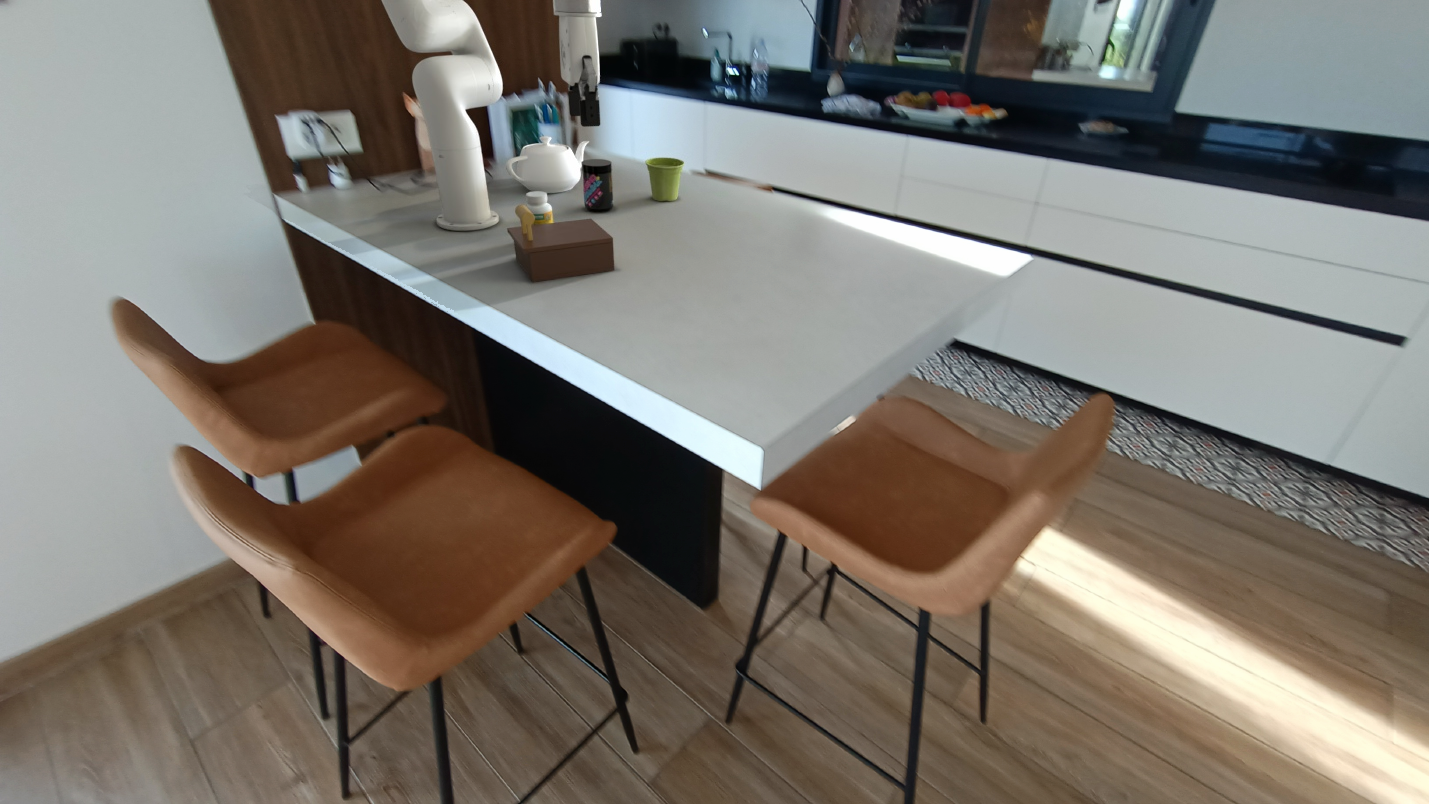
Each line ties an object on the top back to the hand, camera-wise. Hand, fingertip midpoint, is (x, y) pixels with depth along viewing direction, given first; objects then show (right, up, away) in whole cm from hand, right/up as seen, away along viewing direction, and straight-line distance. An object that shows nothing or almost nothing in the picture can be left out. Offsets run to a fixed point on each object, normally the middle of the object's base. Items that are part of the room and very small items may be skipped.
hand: (584, 120), depth 114 cm
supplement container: (-4, -4, +39) cm, 40 cm away
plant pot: (+10, +1, +48) cm, 50 cm away
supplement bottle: (-12, -17, +19) cm, 28 cm away
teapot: (-18, +6, +53) cm, 56 cm away
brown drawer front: (-6, -19, +6) cm, 20 cm away
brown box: (-5, -23, +9) cm, 25 cm away
